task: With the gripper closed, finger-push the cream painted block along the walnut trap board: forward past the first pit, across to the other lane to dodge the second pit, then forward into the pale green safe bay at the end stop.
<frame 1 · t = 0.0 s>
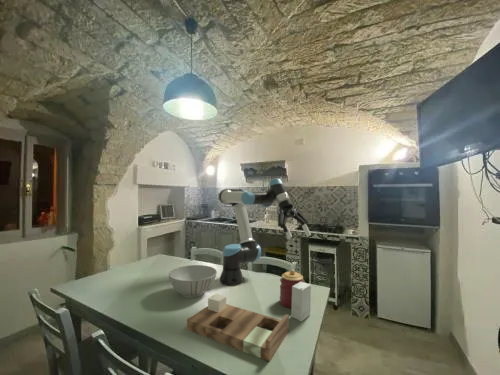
hand: (299, 236, 121), 36 cm above the table, tool tilted 35°, fingers open, 13 cm apart
canister: (291, 303, 124), on the table
decorative bowl: (192, 293, 134), on the table
skincare box: (300, 316, 111), on the table
trap board: (237, 330, 98), on the table
block: (217, 308, 109), point 4 cm above the table, touching trap board
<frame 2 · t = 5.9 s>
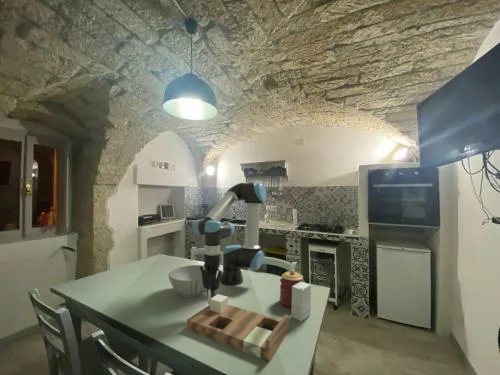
hand: (210, 303, 111), 5 cm above the table, tool pointing down, fingers closed
block: (219, 308, 108), point 4 cm above the table, touching gripper, trap board
everything else where it was.
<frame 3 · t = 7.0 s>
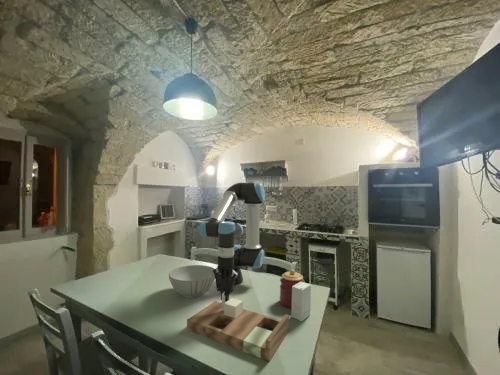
hand: (224, 307, 107), 5 cm above the table, tool pointing down, fingers closed
block: (233, 313, 105), point 4 cm above the table
everything else where it was.
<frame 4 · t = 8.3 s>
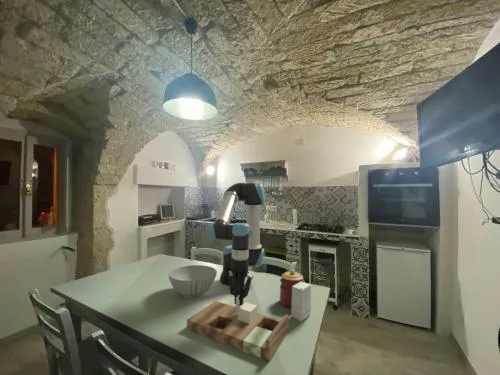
hand: (238, 311, 103), 5 cm above the table, tool pointing down, fingers closed
block: (247, 318, 101), point 4 cm above the table, touching gripper
everything else where it was.
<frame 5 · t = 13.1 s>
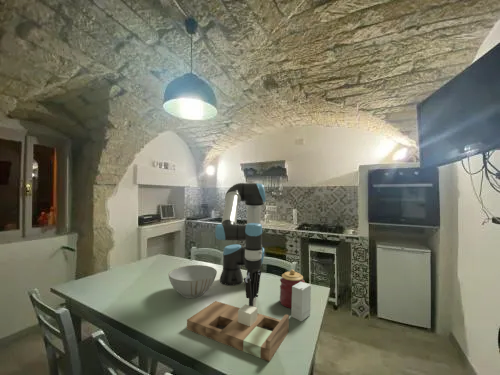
hand: (252, 312, 103), 5 cm above the table, tool pointing down, fingers closed
block: (247, 320, 99), point 4 cm above the table, touching trap board
everything else where it was.
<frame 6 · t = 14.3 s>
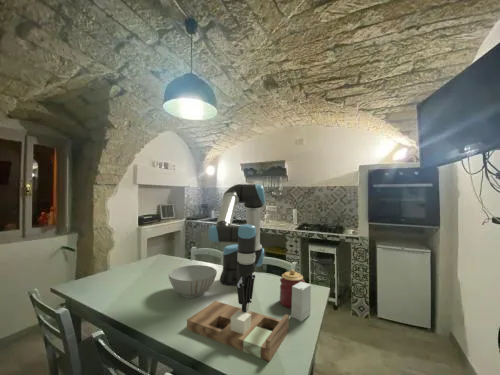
hand: (245, 318, 98), 5 cm above the table, tool pointing down, fingers closed
block: (240, 328, 93), point 4 cm above the table, touching gripper
everything else where it was.
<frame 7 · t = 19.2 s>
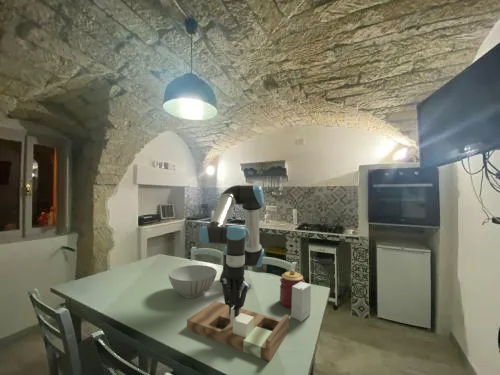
hand: (233, 323, 94), 5 cm above the table, tool pointing down, fingers closed
block: (243, 331, 91), point 4 cm above the table, touching gripper, trap board
everything else where it was.
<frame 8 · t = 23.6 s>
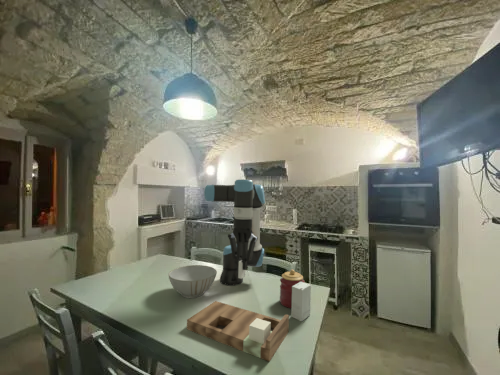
hand: (241, 277, 93), 24 cm above the table, tool pointing down, fingers closed
block: (259, 337, 88), point 4 cm above the table, touching trap board
everything else where it was.
at the end: block inside the target area (1.0 cm from its centre), point 4.0 cm above the table; block tilted 0° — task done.
